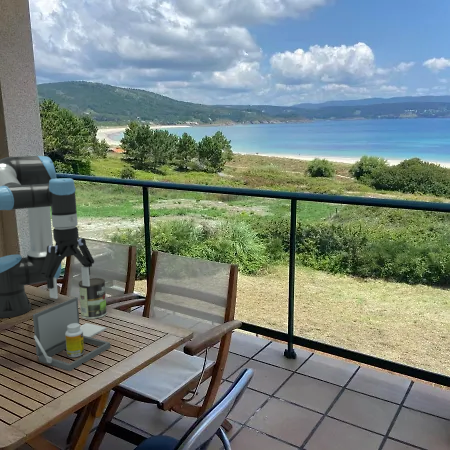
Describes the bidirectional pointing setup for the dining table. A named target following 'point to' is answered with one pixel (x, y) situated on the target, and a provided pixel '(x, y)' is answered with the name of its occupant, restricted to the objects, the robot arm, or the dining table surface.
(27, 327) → the dining table surface
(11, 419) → the dining table surface
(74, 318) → the case
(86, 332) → the pad
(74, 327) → the supplement bottle
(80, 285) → the coffee can
